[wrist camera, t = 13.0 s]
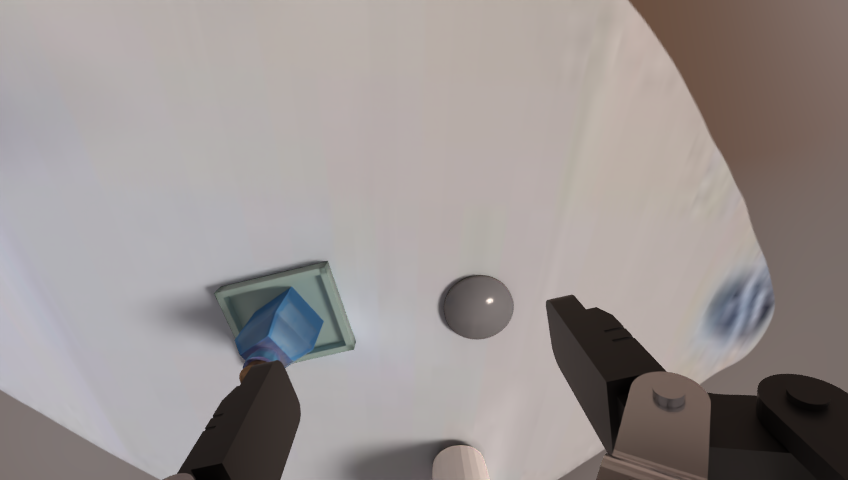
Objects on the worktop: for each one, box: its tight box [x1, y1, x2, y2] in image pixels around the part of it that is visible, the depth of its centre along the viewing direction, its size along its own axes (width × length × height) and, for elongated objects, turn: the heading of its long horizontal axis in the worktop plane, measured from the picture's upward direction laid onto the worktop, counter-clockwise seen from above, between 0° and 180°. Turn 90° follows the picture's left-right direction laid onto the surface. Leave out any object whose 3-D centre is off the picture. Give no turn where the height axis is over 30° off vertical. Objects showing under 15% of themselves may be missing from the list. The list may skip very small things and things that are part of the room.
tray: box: [214, 261, 356, 363], centre depth 51 cm, size 12×14×2 cm
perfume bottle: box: [235, 287, 324, 383], centre depth 45 cm, size 6×6×12 cm
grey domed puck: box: [444, 275, 514, 339], centre depth 52 cm, size 9×9×1 cm
